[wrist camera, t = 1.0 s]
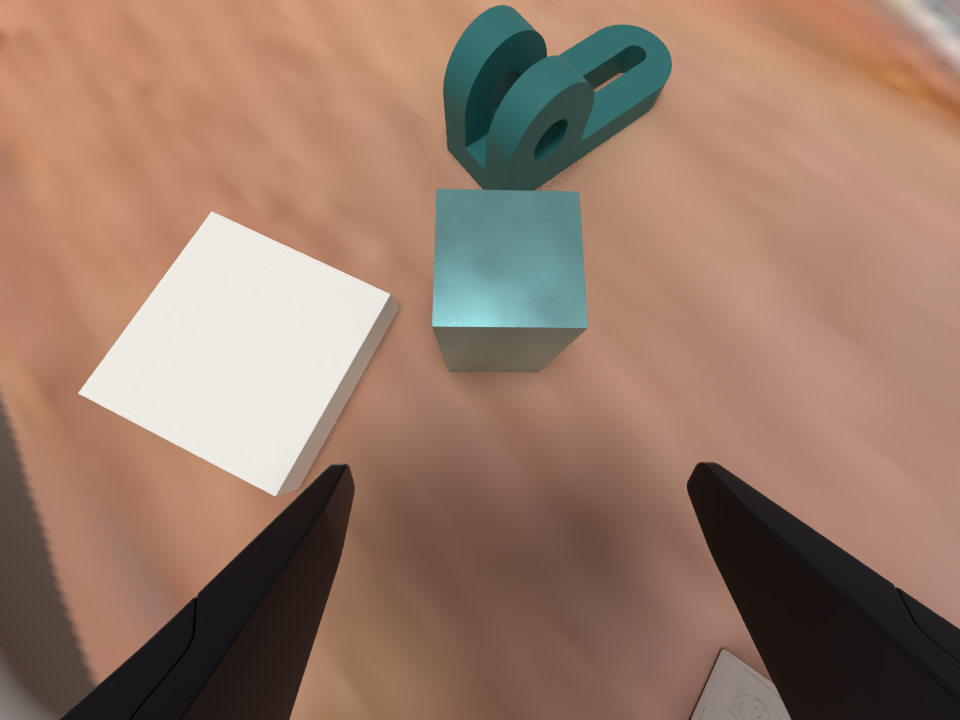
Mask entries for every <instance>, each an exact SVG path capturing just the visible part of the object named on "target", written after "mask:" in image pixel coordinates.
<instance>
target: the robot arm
mask: <svg viewBox="0 0 960 720" xmlns="http://www.w3.org/2000/svg"><path fill="white" fill-rule="evenodd" d="M354 491H355V486H354V481H353V478H352V474H351V470H350V467H349V465H347V464H332V465H330V466H329V467H328V468H327V469H325V470H324V471H323V472H322V473H321V474H320V475H319V476H318V477H317V478H316V479H315V480H314V481H313V482H312V483H311V484H310V485H309V486H308V487H307V488H306V489H305V490H304V491H303V492H302V493H301V494H300V495H299V496H298V497H297V498H296V499H295V500H294V501H293V502H292V503H291V504H290V505H289V506H287V507H286V508H285V509H284V510H283V511H282V512H281V513H280V514H279V515H278V516H277V517H276V518H275V519H274V520H273V521H272V522H271V523H270V524H269V525H268V526H267V527H266V528H265V529H264V530H263V531H262V532H261V533H260V534H259V535H258V536H257V537H256V538H255V539H254V540H253V541H252V542H250V543H249V544H248V545H247V546H246V547H245V548H244V549H243V550H242V551H241V552H240V553H239V554H238V555H237V556H236V557H235V558H234V559H233V560H232V561H231V562H230V563H229V564H228V565H227V566H226V567H225V568H224V569H223V570H222V571H221V572H220V573H219V574H218V575H217V576H216V577H215V578H213V579H212V580H211V581H210V582H209V583H208V584H207V585H206V586H205V587H204V588H203V589H202V590H201V591H200V592H199V593H198V595H197V597H194V598H193V599H192V600H191V601H190V602H189V603H188V604H187V605H186V606H185V607H183V608H182V609H181V610H180V611H179V612H178V613H177V614H176V615H175V616H174V617H173V618H172V619H171V620H170V621H169V622H168V623H167V624H166V625H165V626H164V627H163V628H161V629H160V630H159V631H158V632H157V633H156V634H155V635H154V636H153V637H152V638H151V639H150V640H149V641H148V642H147V643H146V644H144V645H143V646H142V647H141V648H140V649H139V650H138V651H137V652H135V653H134V654H133V655H132V656H131V657H130V658H129V659H128V660H126V661H125V662H124V663H123V664H122V665H121V666H120V667H119V668H117V669H116V670H115V671H114V672H113V673H112V674H111V675H110V676H108V677H107V678H106V679H105V680H104V681H103V682H102V683H100V684H99V685H98V686H97V687H96V688H95V689H94V690H92V691H91V692H90V693H89V694H88V695H87V696H85V697H84V698H83V699H82V700H81V701H80V702H78V703H77V704H76V705H75V706H74V707H73V708H71V710H69V711H68V712H67V713H66V714H65V715H63V716H62V717H61V718H60V719H59V720H289V719H290V716H291V713H292V709H293V706H294V703H295V700H296V697H297V694H298V691H299V687H300V684H301V681H302V678H303V675H304V672H305V669H306V665H307V662H308V659H309V656H310V653H311V650H312V647H313V643H314V640H315V637H316V634H317V631H318V628H319V625H320V621H321V618H322V615H323V612H324V609H325V606H326V603H327V599H328V596H329V593H330V590H331V587H332V584H333V580H334V577H335V574H336V571H337V568H338V565H339V561H340V558H341V554H342V550H343V546H344V541H345V536H346V531H347V526H348V521H349V516H350V512H351V507H352V502H353V497H354ZM687 491H688V494H689V497H690V499H691V502H692V505H693V507H694V510H695V513H696V515H697V518H698V521H699V524H700V526H701V529H702V532H703V534H704V537H705V540H706V542H707V545H708V547H709V550H710V552H711V554H712V556H713V559H714V561H715V563H716V565H717V567H718V569H719V571H720V573H721V575H722V577H723V579H724V581H725V584H726V586H727V588H728V590H729V592H730V594H731V596H732V598H733V600H734V602H735V604H736V606H737V608H738V610H739V613H740V615H741V617H742V619H743V621H744V623H745V625H746V627H747V629H748V631H749V633H750V635H751V637H752V639H753V642H754V644H755V646H756V648H757V650H758V652H759V654H760V656H761V658H762V660H763V662H764V664H765V666H766V668H767V670H768V673H769V675H770V677H771V679H772V681H773V683H774V685H775V687H776V689H777V691H778V693H779V695H780V697H781V699H782V702H783V704H784V706H785V708H786V710H787V712H788V714H789V716H790V718H791V720H960V629H959V628H957V627H956V626H954V625H953V624H951V623H950V622H948V621H947V620H945V619H944V618H942V617H941V616H939V615H938V614H936V613H935V612H933V611H932V610H930V609H929V608H927V607H926V606H924V605H923V604H922V603H920V602H919V601H917V600H916V599H914V598H913V597H911V596H910V595H908V594H907V593H906V592H904V591H903V590H901V589H900V588H895V586H894V585H893V584H892V583H891V582H889V581H888V580H886V579H885V578H884V577H882V576H881V575H879V574H878V573H876V572H875V571H873V570H872V569H870V568H869V567H868V566H866V565H865V564H863V563H862V562H860V561H859V560H857V559H856V558H854V557H853V556H852V555H850V554H849V553H847V552H846V551H844V550H843V549H841V548H840V547H838V546H837V545H835V544H834V543H833V542H831V541H830V540H828V539H827V538H825V537H824V536H822V535H821V534H819V533H818V532H817V531H815V530H814V529H812V528H811V527H809V526H808V525H806V524H805V523H803V522H802V521H801V520H799V519H798V518H796V517H795V516H793V515H792V514H790V513H789V512H787V511H786V510H785V509H783V508H782V507H780V506H779V505H777V504H776V503H774V502H773V501H771V500H770V499H769V498H767V497H766V496H764V495H763V494H761V493H760V492H758V491H757V490H755V489H754V488H753V487H751V486H750V485H748V484H747V483H745V482H744V481H742V480H741V479H739V478H738V477H737V476H735V475H734V474H732V473H731V472H729V471H728V470H726V469H725V468H723V467H722V466H720V465H719V464H717V463H714V462H700V463H698V464H697V465H696V466H695V468H694V470H693V472H692V474H691V476H690V478H689V480H688V482H687Z"/></svg>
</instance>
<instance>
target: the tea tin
mask: <svg viewBox="0 0 960 720" xmlns="http://www.w3.org/2000/svg"><path fill="white" fill-rule="evenodd" d="M432 327H433V330H434V333H435V335H436V338H437V341H438V344H439V346H440V349H441V352H442V354H443V357H444V360H445V363H446V365H447V368H448V371H451V372H539V371H540V370H541V369H542V368H544V367H545V366H546V365H547V364H548V363H549V362H550V361H551V360H553V359H554V358H555V357H556V356H557V355H558V354H559V353H560V352H561V351H563V350H564V349H565V348H566V347H567V346H568V345H569V344H570V343H571V342H573V341H574V340H575V339H576V338H577V337H578V336H579V335H580V334H582V333H583V332H584V331H585V330H586V329H587V328H588V324H587V308H586V293H585V277H584V262H583V246H582V230H581V215H580V199H579V192H569V191H519V190H468V189H437V194H436V225H435V256H434V288H433V319H432Z"/></svg>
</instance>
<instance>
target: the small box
mask: <svg viewBox="0 0 960 720" xmlns="http://www.w3.org/2000/svg"><path fill="white" fill-rule="evenodd" d="M691 720H791V718H790V716H789V714H788V712H787V710H786V708H785V706H784V704H783V702H782V699H781V697H780V695H779V693H778V691H777V689H776V687H775V685H774V684H773V683H772V682H771V681H769V680H768V679H766V678H765V677H764V676H762V675H761V674H759V673H758V672H757V671H755V670H754V669H752V668H751V667H750V666H748V665H747V664H745V663H744V662H743V661H741V660H740V659H738V658H737V657H735V656H734V655H732V654H731V653H730V652H728V651H727V650H725V649H723V650H722V651H721V653H720V655H719V657H718V660H717V662H716V664H715V666H714V669H713V671H712V673H711V675H710V678H709V680H708V682H707V684H706V687H705V689H704V691H703V693H702V695H701V698H700V700H699V702H698V704H697V707H696V709H695V711H694V713H693V715H692V718H691Z"/></svg>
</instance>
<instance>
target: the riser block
mask: <svg viewBox="0 0 960 720" xmlns="http://www.w3.org/2000/svg"><path fill="white" fill-rule="evenodd" d="M398 310H399V308H398V306H397V305H396V303H395V301H394V299H393V298H392V296H391V294H389V293H387V292H384V291H382V290H380V289H378V288H376V287H374V286H371V285H369V284H367V283H365V282H363V281H361V280H358V279H356V278H354V277H352V276H350V275H348V274H346V273H343V272H341V271H339V270H337V269H335V268H333V267H330V266H328V265H326V264H324V263H322V262H320V261H317V260H315V259H313V258H311V257H309V256H307V255H304V254H302V253H300V252H298V251H296V250H294V249H292V248H289V247H287V246H285V245H283V244H281V243H279V242H276V241H274V240H272V239H270V238H268V237H266V236H263V235H261V234H259V233H257V232H255V231H253V230H250V229H248V228H246V227H244V226H242V225H240V224H238V223H235V222H233V221H231V220H229V219H227V218H225V217H222V216H220V215H218V214H216V213H214V212H211V213H210V215H209V216H208V217H207V219H206V220H205V221H204V223H203V224H202V225H201V227H200V228H199V230H198V231H197V232H196V234H195V235H194V236H193V238H192V239H191V240H190V242H189V243H188V245H187V246H186V247H185V249H184V250H183V251H182V253H181V254H180V255H179V257H178V258H177V260H176V261H175V262H174V264H173V265H172V266H171V268H170V269H169V270H168V272H167V273H166V275H165V276H164V277H163V279H162V280H161V281H160V283H159V284H158V285H157V287H156V288H155V289H154V291H153V292H152V294H151V295H150V296H149V298H148V299H147V300H146V302H145V303H144V304H143V306H142V307H141V309H140V310H139V311H138V313H137V314H136V315H135V317H134V318H133V319H132V321H131V322H130V324H129V325H128V326H127V328H126V329H125V330H124V332H123V333H122V334H121V336H120V337H119V339H118V340H117V341H116V343H115V344H114V345H113V347H112V348H111V349H110V351H109V352H108V354H107V355H106V356H105V358H104V359H103V360H102V362H101V363H100V364H99V366H98V367H97V369H96V370H95V371H94V373H93V374H92V375H91V377H90V378H89V379H88V381H87V382H86V383H85V385H84V386H83V388H82V389H81V390H80V392H79V393H78V394H80V395H82V396H84V397H86V398H88V399H90V400H92V401H94V402H96V403H98V404H99V405H101V406H103V407H105V408H107V409H109V410H111V411H113V412H115V413H117V414H119V415H120V416H122V417H124V418H126V419H128V420H130V421H132V422H134V423H136V424H138V425H140V426H142V427H143V428H145V429H147V430H149V431H151V432H153V433H155V434H157V435H159V436H161V437H163V438H164V439H166V440H168V441H170V442H172V443H174V444H176V445H178V446H180V447H182V448H184V449H186V450H187V451H189V452H191V453H193V454H195V455H197V456H199V457H201V458H203V459H205V460H207V461H208V462H210V463H212V464H214V465H216V466H218V467H220V468H222V469H224V470H226V471H228V472H229V473H231V474H233V475H235V476H237V477H239V478H241V479H243V480H245V481H247V482H249V483H251V484H252V485H254V486H256V487H258V488H260V489H262V490H264V491H266V492H268V493H270V494H272V495H273V496H279V495H282V494H285V493H288V492H291V491H294V490H298V489H299V488H300V486H301V484H302V482H303V480H304V479H305V477H306V475H307V473H308V471H309V470H310V468H311V466H312V464H313V462H314V461H315V459H316V457H317V455H318V453H319V452H320V450H321V448H322V446H323V444H324V443H325V441H326V439H327V437H328V435H329V434H330V432H331V430H332V428H333V426H334V425H335V423H336V421H337V419H338V417H339V416H340V414H341V412H342V410H343V408H344V407H345V405H346V403H347V401H348V399H349V398H350V396H351V394H352V392H353V390H354V389H355V387H356V385H357V383H358V381H359V380H360V378H361V376H362V374H363V372H364V371H365V369H366V367H367V365H368V363H369V362H370V360H371V358H372V356H373V355H374V353H375V351H376V349H377V347H378V346H379V344H380V342H381V340H382V338H383V337H384V335H385V333H386V331H387V329H388V328H389V326H390V324H391V322H392V320H393V319H394V317H395V315H396V313H397V311H398Z"/></svg>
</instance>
